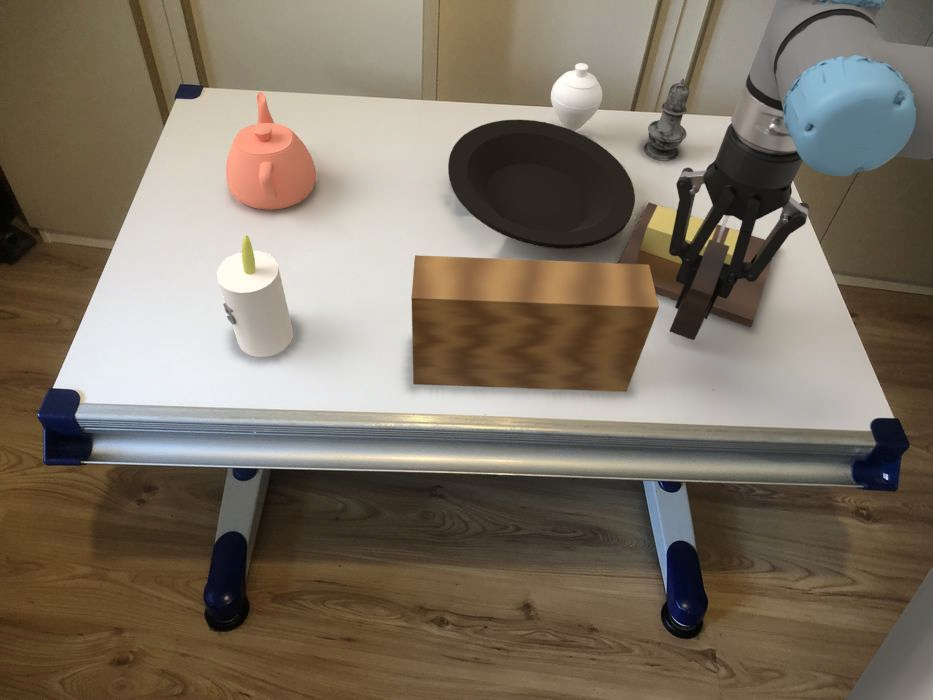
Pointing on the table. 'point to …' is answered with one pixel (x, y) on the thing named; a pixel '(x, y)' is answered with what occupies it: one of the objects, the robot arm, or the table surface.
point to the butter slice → (730, 244)
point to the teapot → (269, 164)
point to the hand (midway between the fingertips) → (693, 305)
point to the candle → (255, 301)
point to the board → (664, 273)
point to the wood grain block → (529, 322)
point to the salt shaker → (669, 125)
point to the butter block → (667, 233)
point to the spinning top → (576, 97)
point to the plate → (541, 184)
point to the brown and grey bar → (701, 289)
